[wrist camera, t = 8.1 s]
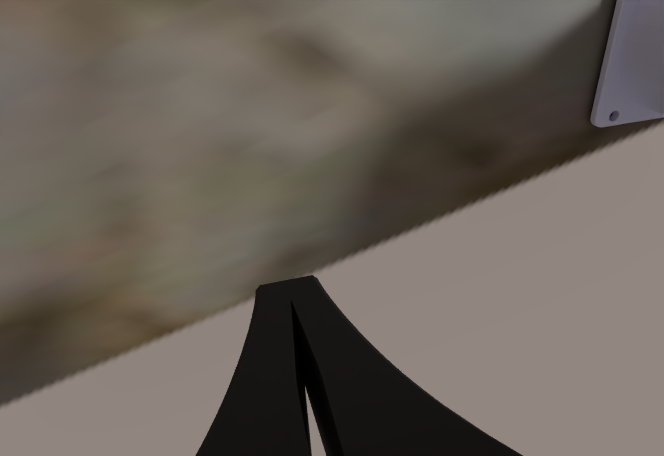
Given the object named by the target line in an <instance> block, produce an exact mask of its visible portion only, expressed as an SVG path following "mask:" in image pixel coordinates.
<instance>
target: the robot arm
mask: <svg viewBox="0 0 664 456" xmlns="http://www.w3.org/2000/svg"><path fill="white" fill-rule="evenodd" d="M612 112H613V114H612V116H611V117H610V118H609V116H610V114H611V113H612ZM663 117H664V0H617V2H616V7H615V11H614V16H613V20H612V24H611V29H610V33H609V38H608V42H607V47H606V51H605V55H604V60H603V64H602V69H601V73H600V78H599V82H598V86H597V91H596V95H595V100H594V104H593V109H592V113H591V119H590V121H591V123H592V124H593V125H594V126H597V127H607V126H614V125H620V124H626V123H632V122H638V121H645V120H651V119H657V118H663ZM305 387H306V390H307V394H308V397H309V400H310V403H311V407H312V410H313V413H314V416H315V419H316V423H317V426H318V430H319V433H320V436H321V439H322V443H323V446H324V449H325V452H326V456H523V455H521V454H519V453H518V452H516V451H514V450H513V449H511V448H509V447H508V446H506V445H504V444H503V443H501V442H499V441H498V440H496V439H494V438H493V437H491V436H489V435H488V434H486V433H485V432H483V431H482V430H480V429H479V428H477V427H475V426H474V425H473V424H471V423H470V422H468V421H467V420H465V419H464V418H462V417H461V416H459V415H458V414H456V413H455V412H453V411H452V410H450V409H449V408H447V407H446V406H444V405H443V404H442V403H440V402H439V401H438V400H436V399H435V398H434V397H432V396H431V395H430V394H428V393H427V392H426V391H424V390H423V389H422V388H420V387H419V386H418V385H417V384H416V383H414V382H413V381H412V380H411V379H409V378H408V377H407V376H406V375H404V374H403V373H402V372H401V371H400V370H399V369H397V368H396V367H395V366H394V365H393V364H392V363H391V362H390V361H389V360H387V359H386V358H385V357H384V356H383V355H382V354H381V353H380V352H379V351H378V350H377V349H376V348H375V347H374V346H373V345H372V344H371V343H370V342H369V341H368V340H367V339H366V338H365V337H364V336H363V335H362V334H361V333H360V332H359V331H358V330H357V329H356V327H355V326H354V325H353V324H352V323H351V322H350V321H349V320H348V319H347V318H346V316H344V314H343V313H342V312H341V311H340V309H339V308H338V307H337V306H336V304H335V303H334V302H333V301H332V299H331V298H330V297H329V295H328V294H327V293H326V291H325V290H324V288H323V287H322V285H321V284H320V282H319V280H318V279H317V278H316V277H314V276H313V275H310V276H305V277H300V278H295V279H290V280H285V281H280V282H274V283H269V284H264V285H260V286H259V287H258V288H257V289H256V296H255V304H254V310H253V314H252V319H251V322H250V326H249V330H248V333H247V337H246V340H245V343H244V347H243V350H242V353H241V356H240V359H239V362H238V364H237V367H236V369H235V372H234V375H233V377H232V380H231V382H230V385H229V388H228V390H227V392H226V395H225V397H224V399H223V402H222V404H221V406H220V408H219V410H218V413H217V415H216V417H215V419H214V421H213V423H212V425H211V427H210V429H209V431H208V433H207V435H206V437H205V439H204V441H203V443H202V445H201V447H200V448H199V450H198V452H197V454H196V456H312V454H311V443H310V433H309V424H308V413H307V403H306V393H305Z"/></svg>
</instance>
